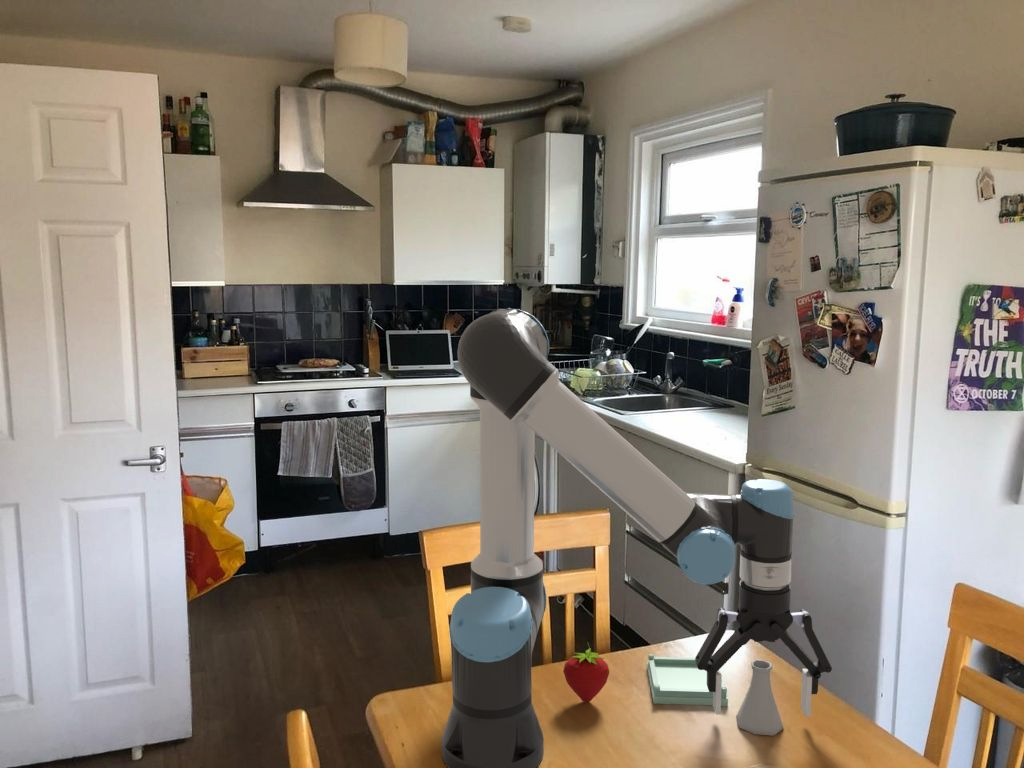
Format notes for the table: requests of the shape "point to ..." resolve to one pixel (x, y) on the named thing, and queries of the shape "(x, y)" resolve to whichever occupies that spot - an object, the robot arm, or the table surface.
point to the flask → (760, 703)
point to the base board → (680, 682)
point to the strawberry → (586, 674)
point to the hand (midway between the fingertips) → (761, 711)
